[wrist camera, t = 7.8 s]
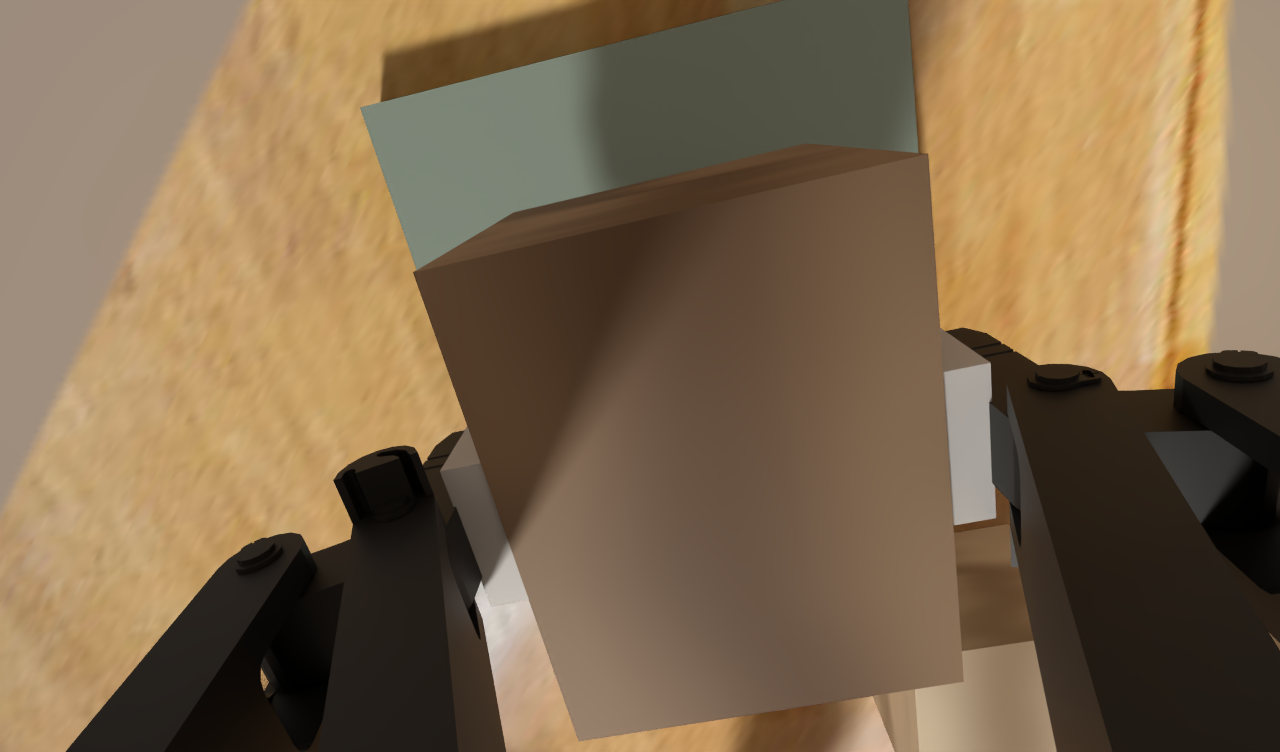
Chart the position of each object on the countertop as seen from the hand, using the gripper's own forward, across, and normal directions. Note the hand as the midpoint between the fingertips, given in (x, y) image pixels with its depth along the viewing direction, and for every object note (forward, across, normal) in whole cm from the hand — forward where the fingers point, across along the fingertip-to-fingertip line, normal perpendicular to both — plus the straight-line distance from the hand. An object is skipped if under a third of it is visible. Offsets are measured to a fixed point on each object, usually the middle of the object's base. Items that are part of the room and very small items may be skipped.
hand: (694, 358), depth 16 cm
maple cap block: (+7, +8, -16) cm, 19 cm away
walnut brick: (0, 0, 0) cm, 0 cm away
